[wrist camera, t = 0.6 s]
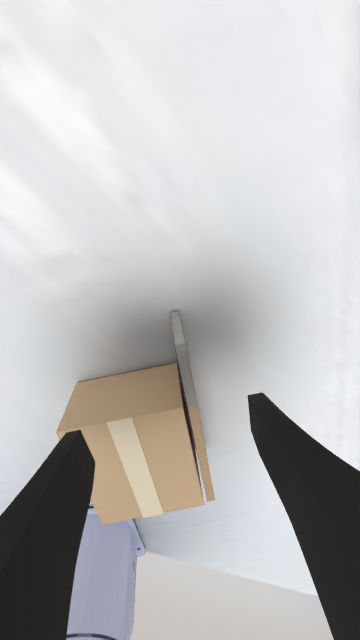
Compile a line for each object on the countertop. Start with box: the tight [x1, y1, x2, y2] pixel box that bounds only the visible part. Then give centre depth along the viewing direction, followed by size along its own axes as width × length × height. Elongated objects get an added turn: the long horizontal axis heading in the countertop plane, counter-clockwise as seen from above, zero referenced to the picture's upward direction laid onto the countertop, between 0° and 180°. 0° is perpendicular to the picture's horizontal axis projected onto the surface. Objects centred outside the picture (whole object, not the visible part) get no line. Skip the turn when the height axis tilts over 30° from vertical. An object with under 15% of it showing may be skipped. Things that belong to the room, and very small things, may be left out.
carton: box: [56, 363, 204, 525], centre depth 21 cm, size 10×8×5 cm
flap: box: [170, 311, 215, 502], centre depth 20 cm, size 14×1×5 cm, turn 10°
